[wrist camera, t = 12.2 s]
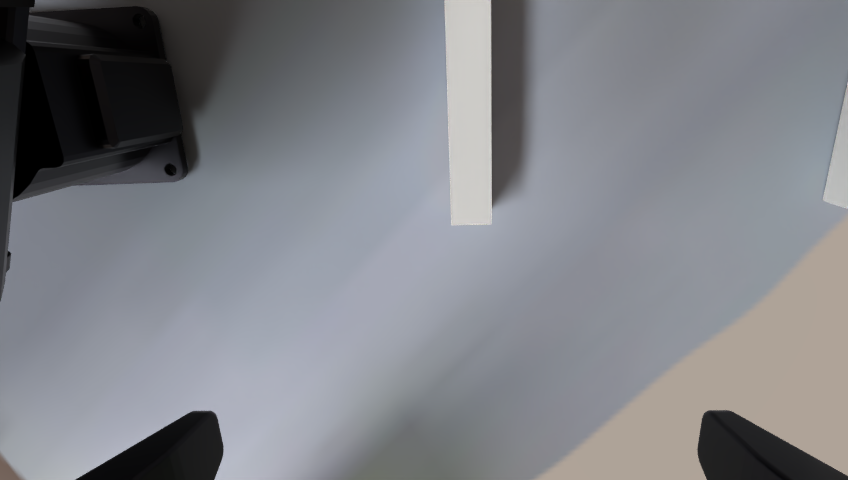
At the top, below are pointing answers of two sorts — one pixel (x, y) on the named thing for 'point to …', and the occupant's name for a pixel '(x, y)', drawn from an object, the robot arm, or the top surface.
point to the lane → (473, 117)
